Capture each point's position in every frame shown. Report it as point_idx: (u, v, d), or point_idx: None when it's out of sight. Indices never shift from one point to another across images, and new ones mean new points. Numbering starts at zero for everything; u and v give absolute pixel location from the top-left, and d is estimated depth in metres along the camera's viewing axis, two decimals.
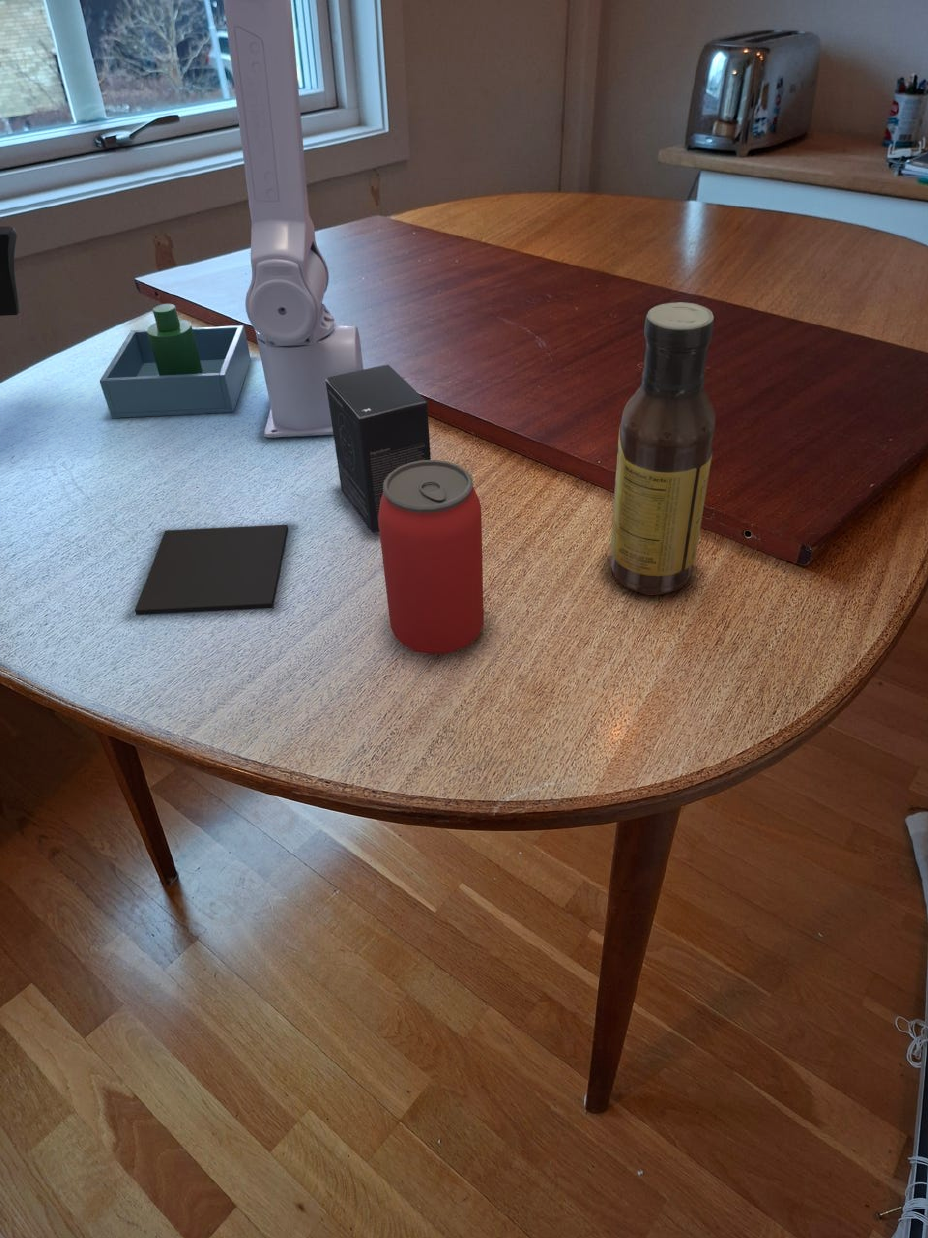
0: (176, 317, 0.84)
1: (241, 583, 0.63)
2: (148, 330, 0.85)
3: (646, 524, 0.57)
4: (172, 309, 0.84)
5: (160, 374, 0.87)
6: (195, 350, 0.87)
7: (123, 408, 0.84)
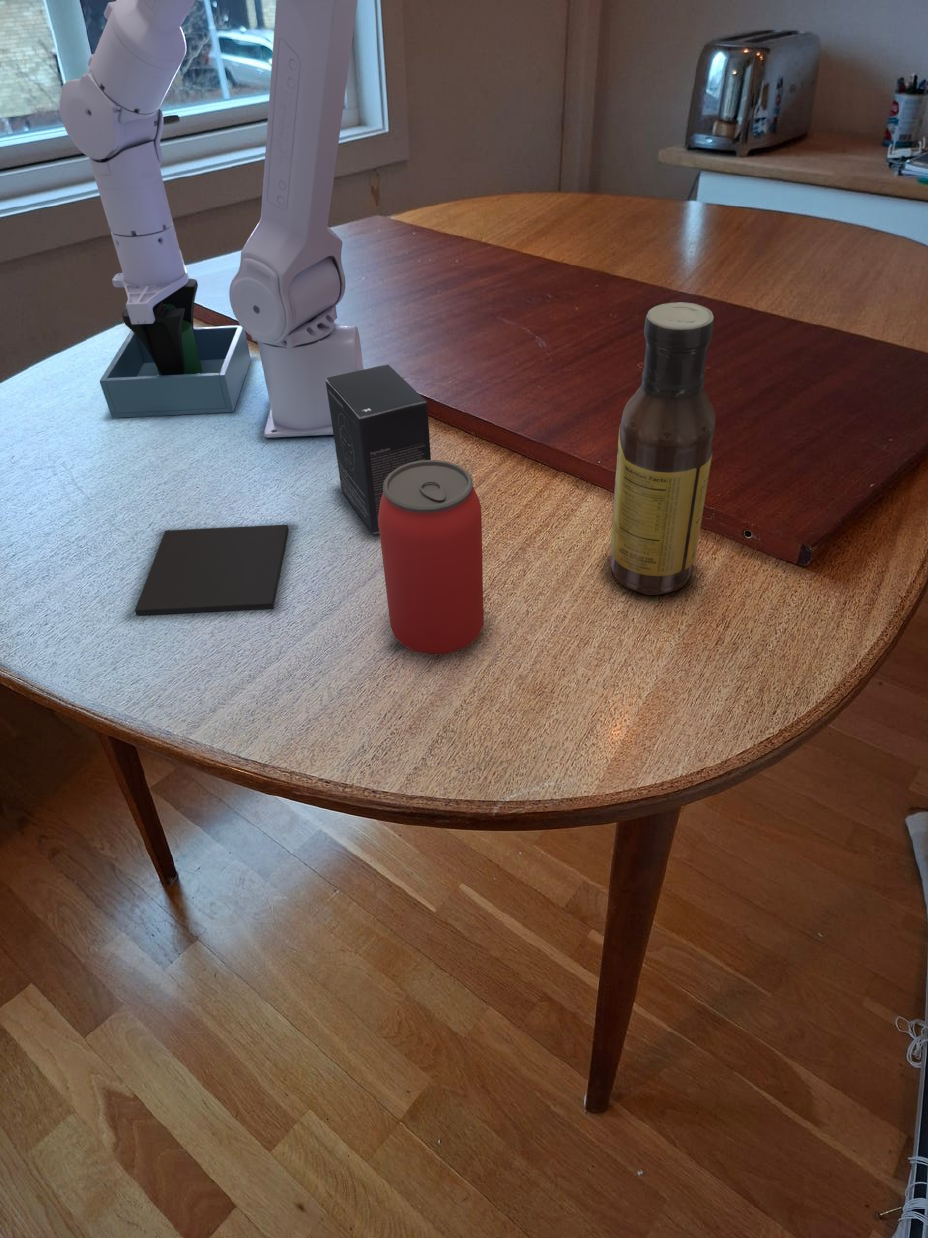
0: None
1: (241, 583, 0.63)
2: None
3: (646, 524, 0.57)
4: None
5: (160, 374, 0.87)
6: (195, 350, 0.87)
7: (123, 408, 0.84)
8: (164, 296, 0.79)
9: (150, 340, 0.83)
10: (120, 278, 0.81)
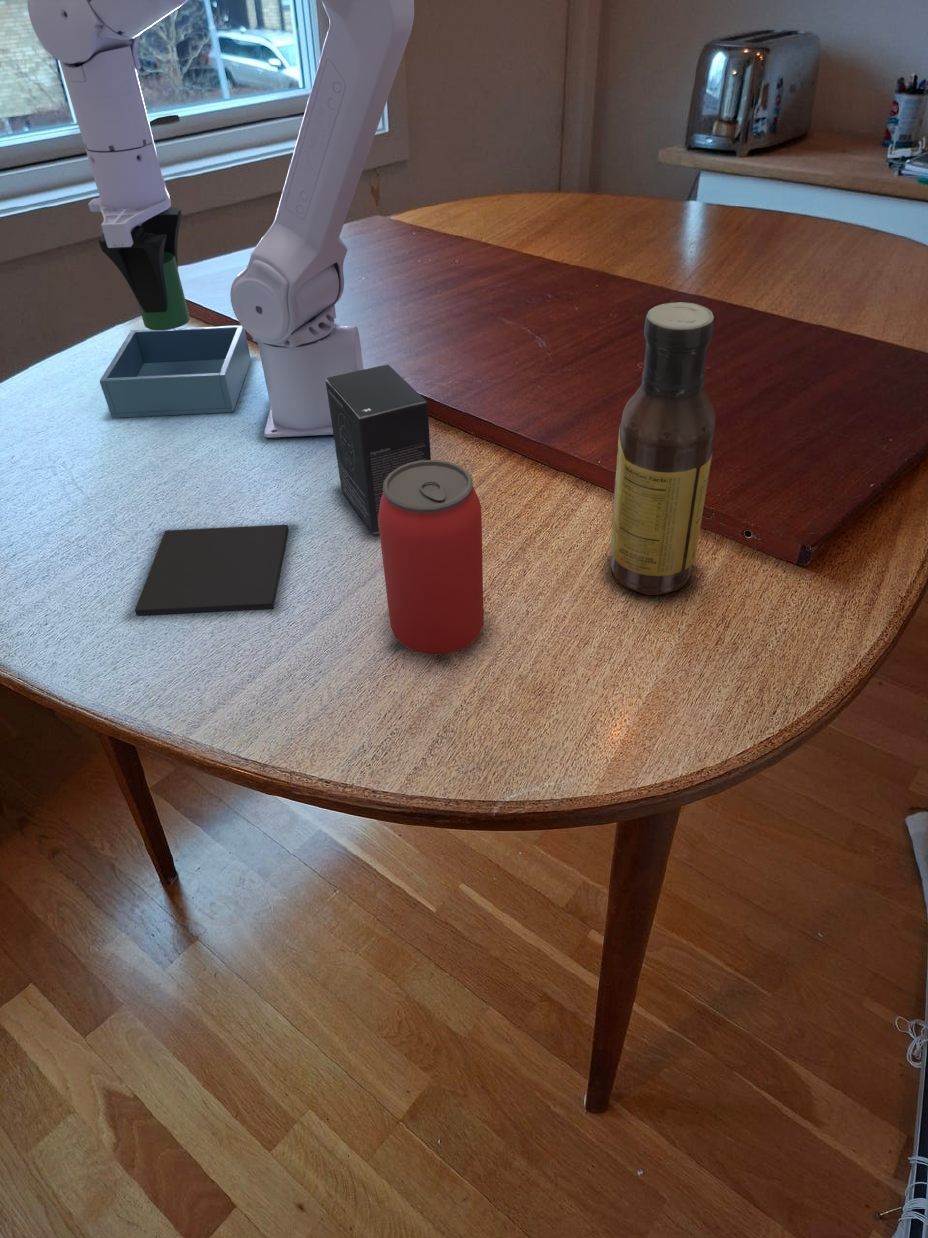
0: None
1: (241, 583, 0.63)
2: None
3: (646, 524, 0.57)
4: None
5: (141, 310, 0.81)
6: (179, 284, 0.81)
7: (123, 408, 0.84)
8: (143, 219, 0.73)
9: (130, 270, 0.77)
10: (97, 202, 0.76)
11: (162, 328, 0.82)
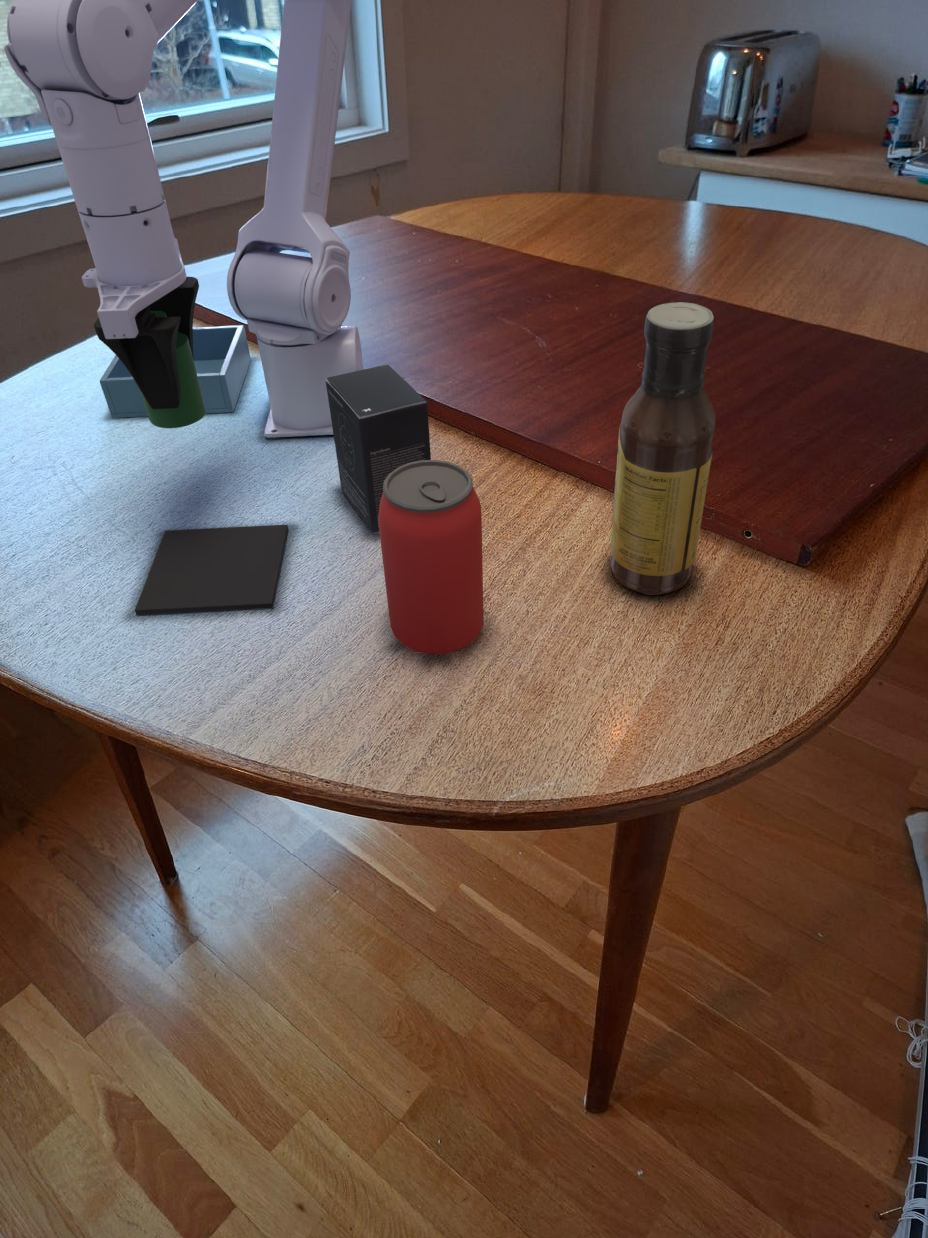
0: None
1: (241, 583, 0.63)
2: None
3: (646, 524, 0.57)
4: None
5: (146, 404, 0.65)
6: (193, 372, 0.65)
7: (123, 408, 0.84)
8: (152, 300, 0.57)
9: (133, 359, 0.61)
10: (93, 275, 0.60)
11: (172, 426, 0.66)
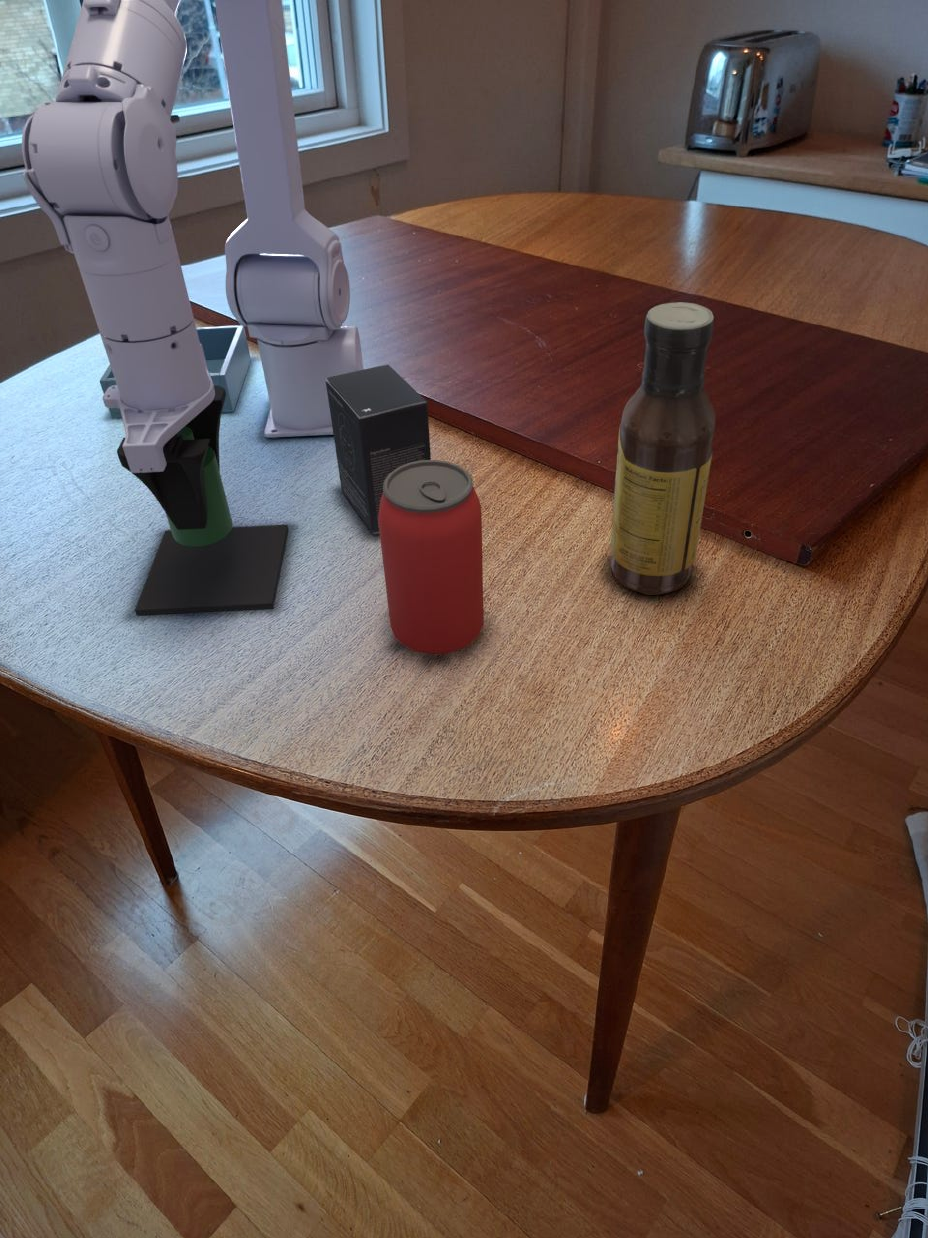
0: None
1: (241, 583, 0.63)
2: None
3: (646, 524, 0.57)
4: (188, 436, 0.57)
5: (170, 522, 0.61)
6: (220, 488, 0.60)
7: None
8: (180, 427, 0.53)
9: (158, 483, 0.57)
10: (114, 395, 0.55)
11: (197, 544, 0.61)
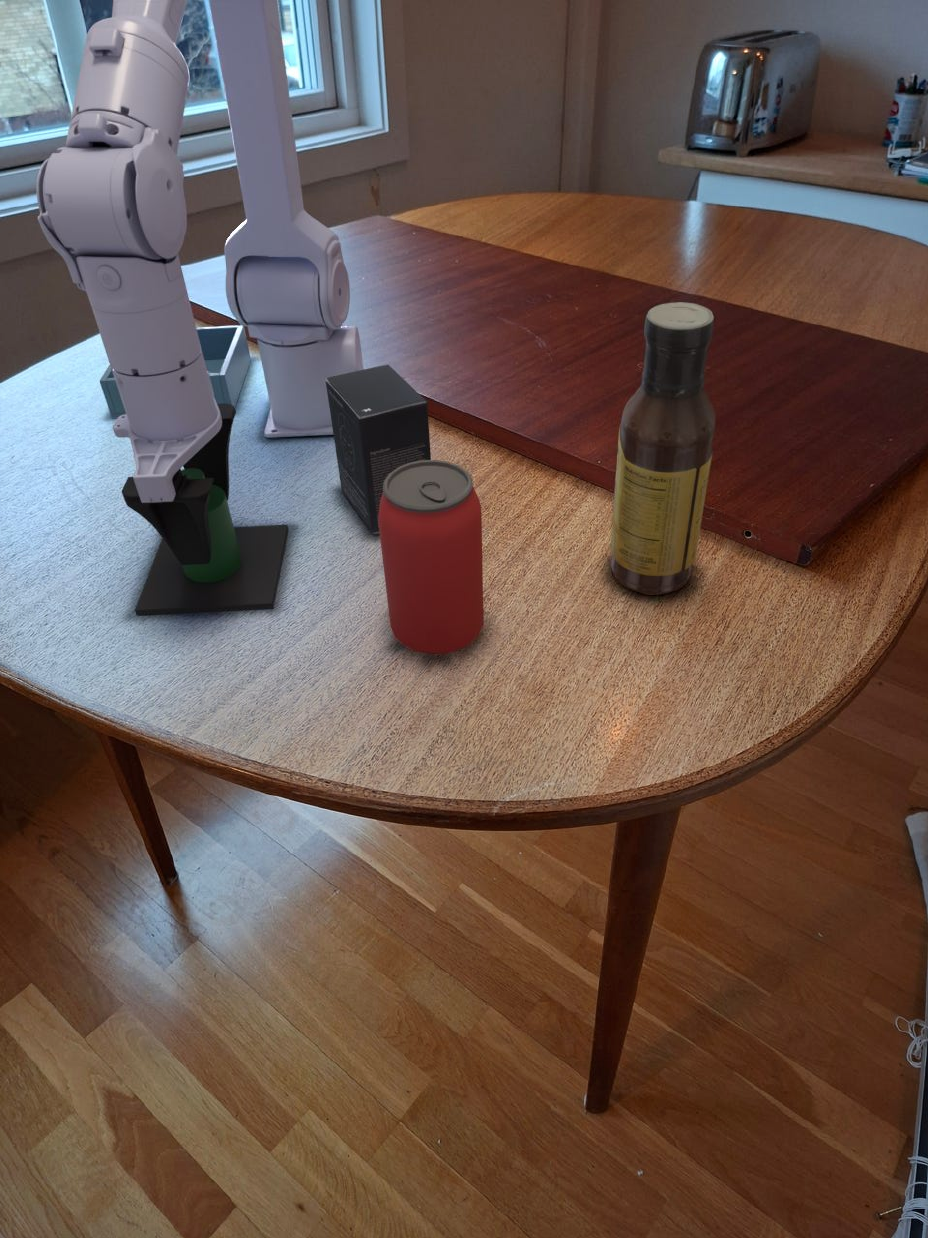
0: None
1: (241, 583, 0.63)
2: None
3: (646, 524, 0.57)
4: None
5: None
6: (230, 527, 0.63)
7: (123, 408, 0.84)
8: (189, 457, 0.54)
9: (163, 520, 0.57)
10: (124, 425, 0.57)
11: (208, 581, 0.63)
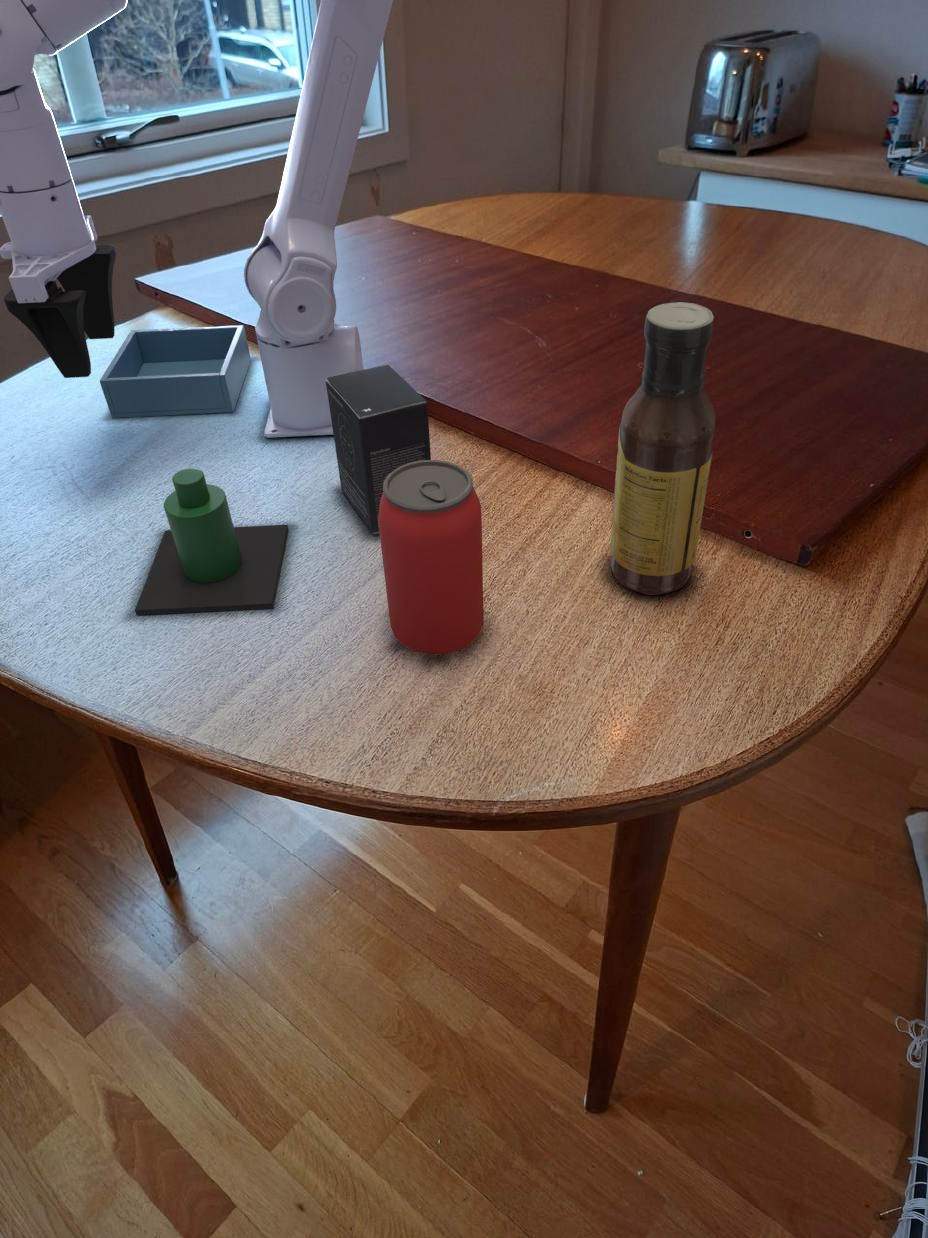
0: (205, 488, 0.60)
1: (241, 583, 0.63)
2: (166, 504, 0.61)
3: (646, 524, 0.57)
4: (200, 479, 0.60)
5: (182, 559, 0.63)
6: (230, 527, 0.63)
7: (123, 408, 0.84)
8: (61, 269, 0.64)
9: (44, 331, 0.66)
10: (9, 247, 0.66)
11: (208, 581, 0.63)
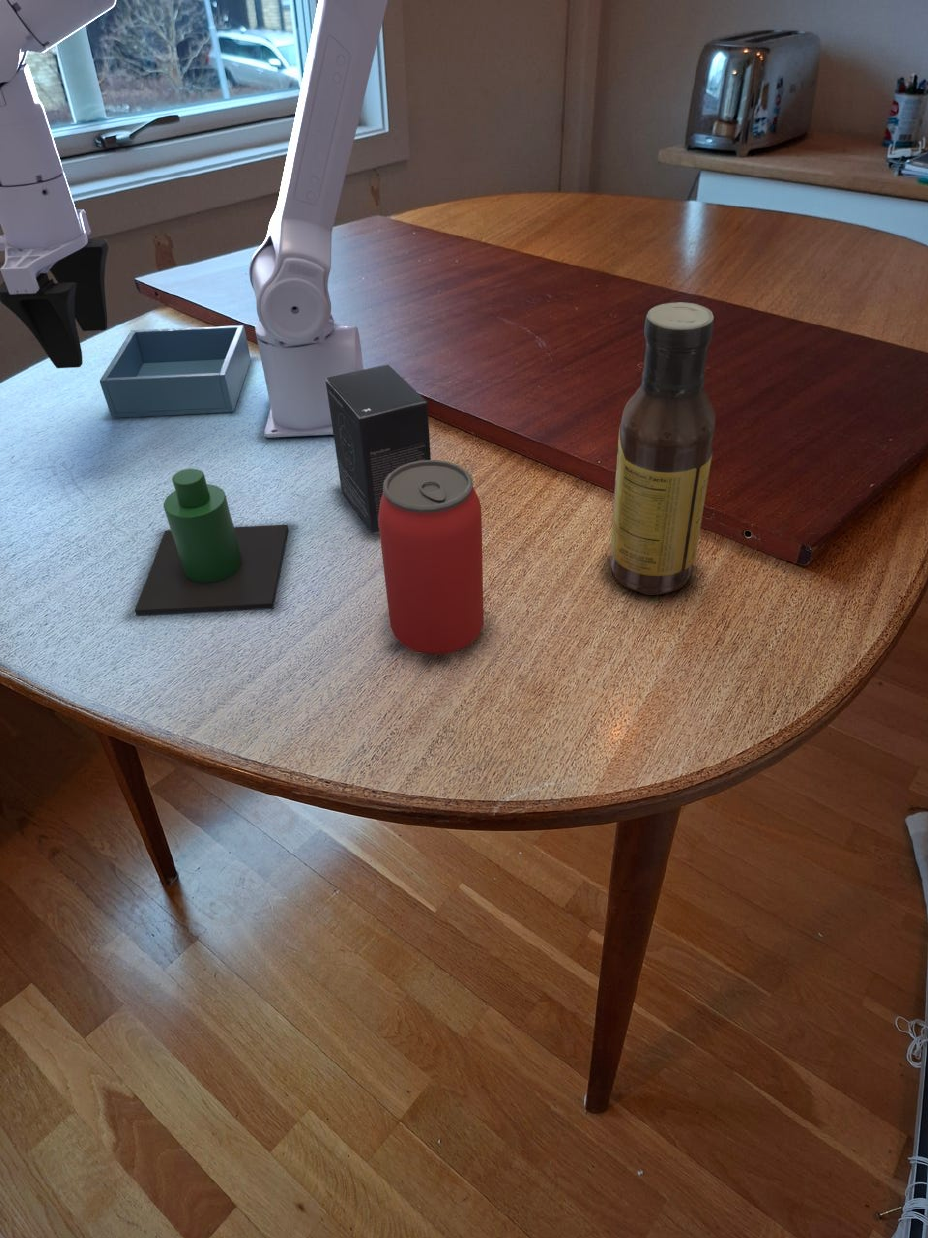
0: (205, 488, 0.60)
1: (241, 583, 0.63)
2: (166, 504, 0.61)
3: (646, 524, 0.57)
4: (200, 479, 0.60)
5: (182, 559, 0.63)
6: (230, 527, 0.63)
7: (123, 408, 0.84)
8: (52, 261, 0.65)
9: (36, 322, 0.68)
10: (2, 240, 0.67)
11: (208, 581, 0.63)
